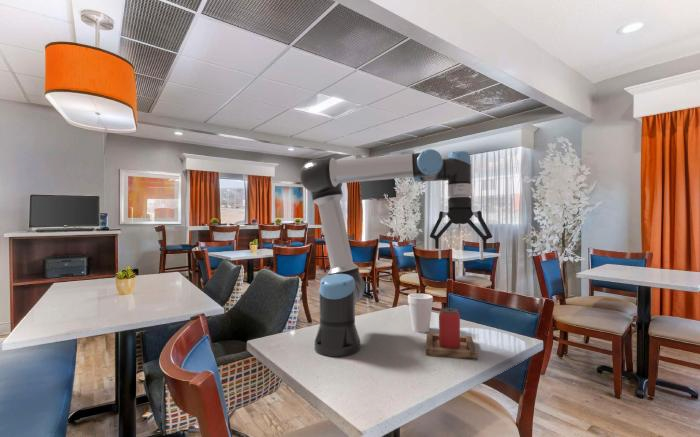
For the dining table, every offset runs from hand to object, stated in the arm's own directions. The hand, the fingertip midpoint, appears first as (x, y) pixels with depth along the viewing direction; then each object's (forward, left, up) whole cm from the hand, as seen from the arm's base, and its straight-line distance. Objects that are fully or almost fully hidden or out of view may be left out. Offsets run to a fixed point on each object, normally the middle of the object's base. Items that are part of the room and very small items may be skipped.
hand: (460, 258), depth 112 cm
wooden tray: (-4, -6, -29) cm, 30 cm away
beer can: (-4, -6, -28) cm, 29 cm away
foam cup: (-14, +11, -29) cm, 34 cm away
